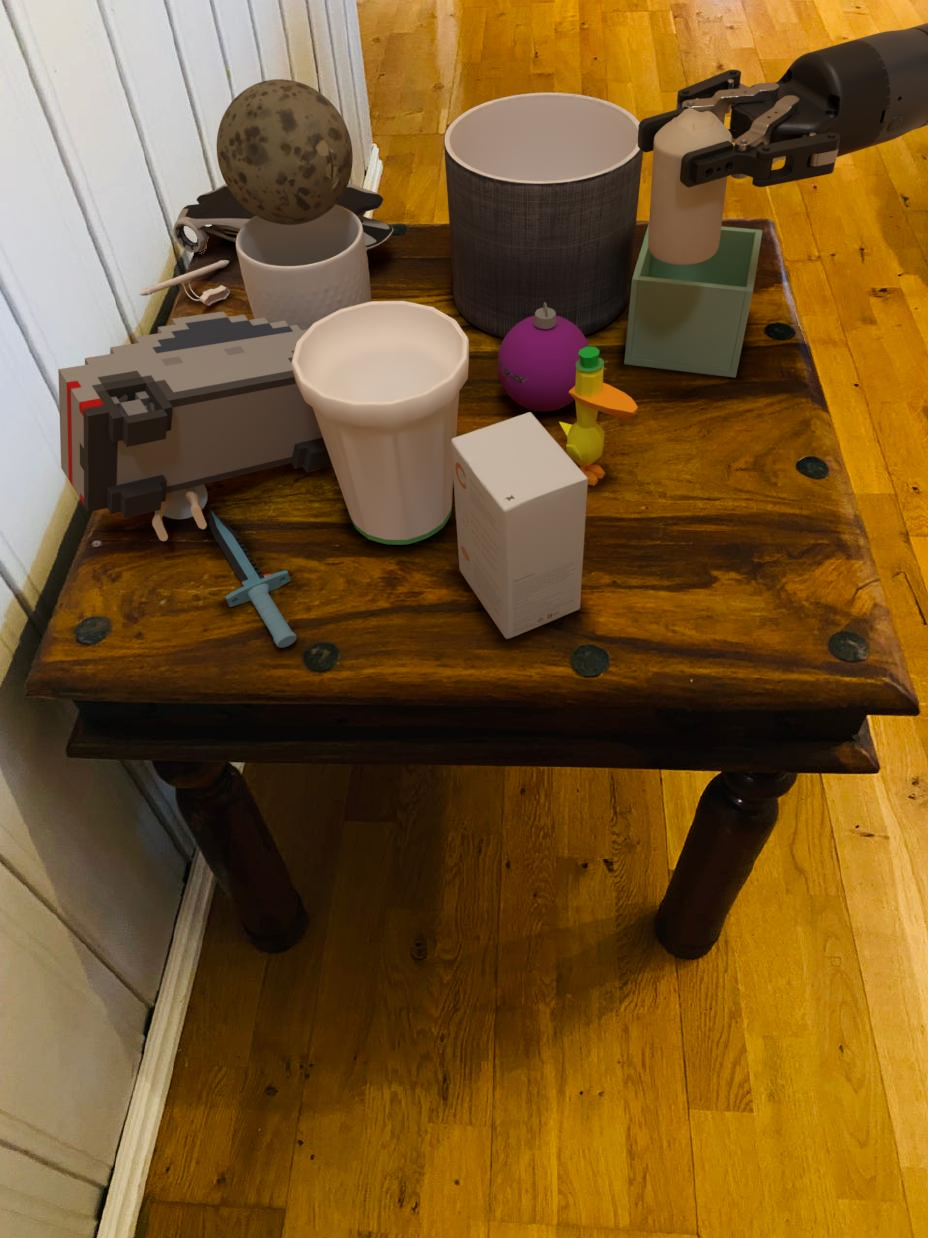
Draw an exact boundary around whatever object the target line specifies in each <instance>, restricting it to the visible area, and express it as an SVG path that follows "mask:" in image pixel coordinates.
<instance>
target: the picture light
mask: <svg viewBox="0 0 928 1238" xmlns="http://www.w3.org/2000/svg"><path fill="white" fill-rule="evenodd" d="M229 263H230V260H226V259H223V260H222V259H221V260H219V261H217V262H214V263H212V264H209V265H206V266H203V267H200V268H198V269H195V270H193V271H190V272H186V273H184V274H181V275H178V276H176V277H172V278H171V279H168V280H165V281H162V282H159V283H156V284H154V285H151V286H146V287H144V288H143V289H142V290H140V291H139V296H143V297H147V296H151V295H153V294H155V293H157V292H160V291H163V290H165V289H168V288H171V287H173V286H176V285H180V284H181V285H182V286H183V289H184V291H185V294H186V296H188V298H190V299H191V300H193V301H195V302H198V301H199V302H202V303H203V304H204V305H206V306H211V305H212V304H215V303H216V302H218V301H222V300H226V299H227V297H228V296H229V295H230V293H231V290H230V289H229V287H226V286H225V285H222V284H220V285H219V286H218V287H215V288H209V289H207V290H204V291H202V295H200V296H198V295H197V294H196V293H195V292H194V291H193V289H192V287H191V282H192V280H193V279H195V278H198V277H200V276H203V275H206V274H209V273H211V272H214V271H217V270H220V269H224V268H225V267H227V266H228V265H229ZM185 284H188V287H189V290H190V292H192V294H193V296H195V297H196V298H198V299H196V298H193V297H192V296H191V295H190V294H189V293H188V291H187V289H186V286H185Z"/></svg>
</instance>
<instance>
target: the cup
mask: <svg viewBox="0 0 928 1238" xmlns="http://www.w3.org/2000/svg"><path fill="white" fill-rule="evenodd" d="M469 343H470V339H469V337H468V336H467V334H466V333H465V331H464V330H463V328H462V327H461V325H460V323H458V321H457V320H456V319H455V318H453V317H451V316H449V315H447V314H446V313H444V312H442V310H439V309H438V308H436V307H434V306H430V305H425V304H422V303H416V302H412V301H406V300H375V301H374V300H373V301H372V300H371V302H367V303H363V304H359V305H355V306H351V307H347V308H343V309H340V310H338V311H336V312H334V313H332V314H330V315H328V316H326V317H325V318H323V319H321V320H319V321H317V322H315V323H314V324H313V325H312V326H311V327H310V328H309V329H308V330H307V331H306V333H305V334H304V335H303V336H302V337H301V338H300V339H299V340H298V341H297V343H296V347H295V351H294V355H293V359H292V363H291V365H292V369H293V373H294V377H295V381H296V383H297V386H298V388H299V390H300V392H301V394H302V396H303V398H304V400H305V402H306V403H308V404H309V405H310V406H312V407H313V410H314V413H315V416H316V419H317V422H318V425H319V427H320V430H321V433H322V436H323V439H324V442H325V445H326V448H327V451H328V453H329V456H330V459H331V462H332V465H333V466H332V468H333V470H334V473H335V477H336V480H337V483H338V485H339V488H340V491H341V494H342V497H343V500H344V502H345V505H346V509H347V511H348V514H349V518H350V520H351V523H352V525H353V526H354V529H356V530H357V532H359V533H360V534H361V535H363V536H364V537H365V538H366V539H368V540H370V541H373V542H376V543H380V544H385V545H395V546H396V545H398V546H399V545H411V544H413V543H417V542H421V541H423V540H426V539H428V538H430V537H432V536H433V535H435V534H437V533H439V531H440V530H442V529H443V528H444V527H445V525H446V524H447V522H448V521H449V519H450V517H451V516H452V510H453V491H454V480H453V465H452V449H451V439H452V438H454V437H457V434H458V433H457V431H458V420H459V419H458V417H459V404H460V403H459V402H460V390H461V389H462V388H463V386H464V385H465V383H466V382H467V380H468V378H469V366H470V365H469V364H470V344H469Z"/></svg>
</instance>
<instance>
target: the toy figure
mask: <svg viewBox="0 0 928 1238" xmlns="http://www.w3.org/2000/svg"><path fill="white" fill-rule="evenodd" d="M600 352H601V350H600V348H597V347H596V346H589V347H585V348H583V349H580V351H579V358H580V359H579V360H578V361H577V362H576V368H577V369H576V384H575V386H574V387H573V388H572V389H571V390H570V391H569V394H570V395H571V396H572V397H573V398H575V400H574V401H575V402H574V403H575V412H576V421H575V422H574V423H573V424H570V423H566V422H563V421H558V423H559V425H560V427H561V429H562V431H563V433H564V435H565V436H566V444H565V449H566V451H565V452H566V453H567V454H568V455H569V457H570V458H571V459H572V460H573V461H574V462H575V464H577V465H578V466H579V468H580V469H581V471H582V472H583V473H584V474H585V475H586V476H587V477H588V486H593V487H594V486H595V485H597V483H598V482H599V479H601V480H602V479H603V478H604V476H605V475H606V471H604V469H603V468H602V467H601V465H599V464H595V462H596V461H598V460H599V459H600V458H601V457H602V455H603V452H604V451H603V450H604V445H605V434H606V431H605V430H604V429H603V428H602V427H601V426H600V425H599V424H598V422H597V419H598V414H599V412H601V413H604V414H607V415H610V416H612V417H614V418H618V419H622V420H624V419H627V418H629V417H632V416H634V415H636V414H637V410H638V408H639V406H638V405H637V403H636V401H634V399H633V397H631V396H629V394H627V393H626V392H624V391H622V390H620V389H619V388H616V387H614V386H613V385H611V384H608V383H605V382H604V372H605V371H604V370H605V361H604V359H603V358H601V357H600Z"/></svg>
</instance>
